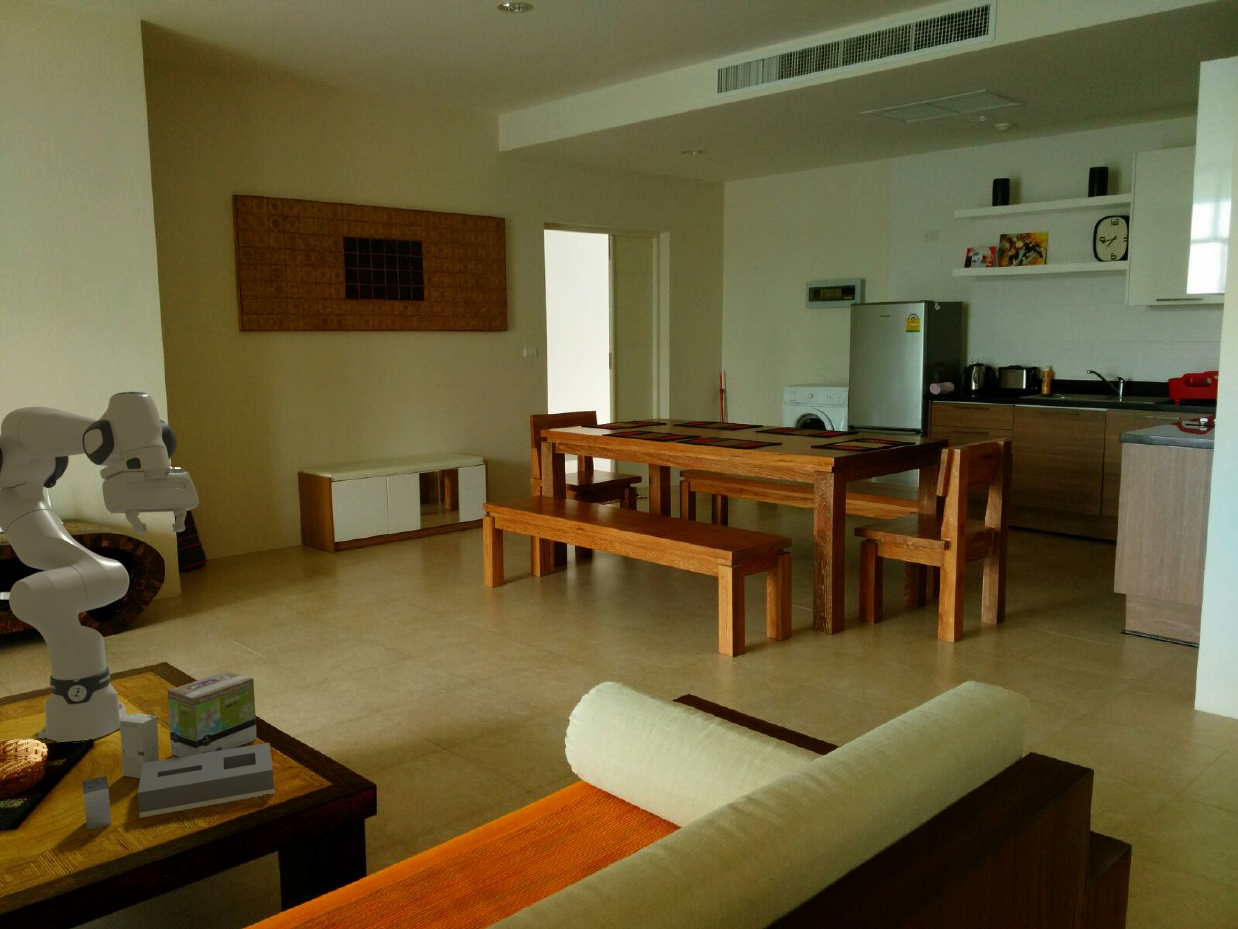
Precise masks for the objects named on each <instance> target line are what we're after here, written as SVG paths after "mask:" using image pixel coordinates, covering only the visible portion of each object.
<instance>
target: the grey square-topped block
mask: <svg viewBox="0 0 1238 929" xmlns="http://www.w3.org/2000/svg"><path fill="white" fill-rule="evenodd" d="M81 782H82V793H83V801H84V811H85V822H86V830H87V831H91V830H95V829H100V828H103V827H107V826H113V825H112V822H113V821H112V815H111V814H112V813H111V802H110V792H109V791H110V790H109V781H108V776H107V775H103V776H99V777H95V778H91V779H85V780H82V781H81Z"/></svg>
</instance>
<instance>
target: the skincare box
mask: <svg viewBox="0 0 1238 929" xmlns="http://www.w3.org/2000/svg"><path fill="white" fill-rule="evenodd" d="M158 733H159V730H158V716H156V715H150V714H145V713H137V712H134V713H131V714H129V715H128V716H127V717H125V718H123V719H122V720H120V744H121V746H120V748H121V764H122V775H123V776H124V777H130V778H136V779H140V778H141V773H142V767H143V763H147V762H153V761H159V760H160V753H159V752H160V750H159V734H158Z"/></svg>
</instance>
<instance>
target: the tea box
mask: <svg viewBox="0 0 1238 929" xmlns="http://www.w3.org/2000/svg"><path fill="white" fill-rule="evenodd" d="M167 701H168V702H167V704H168V721H169V736H170V739H169V741H170V753H171V754H172V755H174V756H176V757H184V756H190V755H196V754H202V753H209V752H215V751H221V750H227V749H233V748H239V747H242V746H244V745H246V744H249V743H252V742H254V741H256V740H257V718H256V717H257V715H256V700H255V684H254V678H253V677H249V676H245V675H243V674H238V673H236V672H232V671H229V670H226V671H222V672H219V673H216V674H214V675H210V676H207V677H204V678H201V679H198V680H195V681H192V682H190V683H186V684H183V685H180V686H178V687H174V688H170V689H168V690H167Z"/></svg>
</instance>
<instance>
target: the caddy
mask: <svg viewBox="0 0 1238 929" xmlns="http://www.w3.org/2000/svg"><path fill="white" fill-rule="evenodd" d="M273 768H274V767H273V762H272V752H271V744H270V742H266V743H260V744H254V745H253V744H252V745H246V746H238V747H236V748H233V749H227V750H221V751H215V752H209V753H202V754H196V755H190V756H184V757H179V756H177V757H173V758H167V759H159V761H153V762H147V763H143V767H142V773H141V778H139V784H138V790H137V798H138V799H137V801H138V809H139V810H138V812H139V818H140V819H142V818H146V817H152V816H153V817H154V816H156V815H157V816H158V815H163V814H169V813H173V812H179V811H185V810H191V809H197V808H202V807H203V808H204V807H208V806H213V805H219V804H225V803H230V801H231V802H236V801H241V799H242V800H247V799H252V798H251V797H253V798H257V797H258V796H259V797H263V795H264V796H266V795H265V794H270V795H275V785H274V783H275V782H274V771H273V770H274V769H273Z"/></svg>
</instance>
